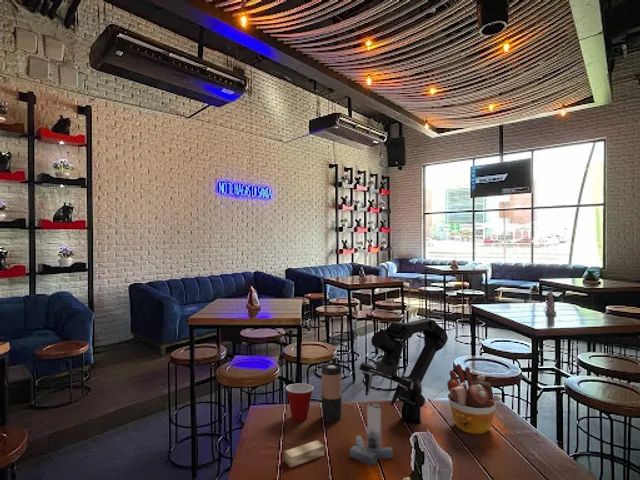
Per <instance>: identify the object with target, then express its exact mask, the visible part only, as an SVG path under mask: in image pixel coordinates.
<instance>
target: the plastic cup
mask: <svg viewBox="0 0 640 480" xmlns="http://www.w3.org/2000/svg"><path fill="white" fill-rule="evenodd" d="M285 391H286V393H287V396H288V403H289V410H290V416H291V419H292V420H293V421H294V422H300V423H301V422H305V421H306V420H308V417H309V416H308V415H309V409H310V404H311V399H312V394H313V391H314V386H313V385H312V384H309V383H291V384H288V385H286V386H285Z"/></svg>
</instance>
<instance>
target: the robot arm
mask: <svg viewBox="0 0 640 480" xmlns="http://www.w3.org/2000/svg"><path fill="white" fill-rule="evenodd" d="M417 333H422V335H423V342H424V345H423V348H422V349H421V352H420V353H419V356H418V357H417V359H416V361H415V362H414V365H413V367H412V369H411V371H410V373H409V375H407V376H405V375H401V376H400V377H399V376H397V373H398V370H399V364H400V360H401V356H402V353H403V349H405V350H406V349H407V345H406V343H405V342H406V340H409V339H411V338H412V337H413V335H414V334H417ZM448 340H449V336H448V334H447V332H446V331H445V329H444V328H443V327H442V326H440V325H439V324H438V323H437V322H436V320H434V319H430V318H425V317H424V318H422V319H417V320H413V321H410V322H403V321H402V322H401V321H392V322H390V325H388V326H387V327H386V328H385V329H383V328H379V330H378V331H376V332H375V333H374V334H373V336H372V337H371V345H372V347H374V348H375V349H377V350H379V351H381V352H383V353H384V354H383V355H382V357H381V359H380V360H378V361H377V363H376V367H375V366H373V365H371V364H369V363H366V362H360V365H359V367H358V369H359V370H360V371H362V372H361V374H363V376H364V380H365V396H366V397H368V395H369V392H370V389H371V385H372V382H373V379H374V376H373V375H376V376H379V377H381V378H384V379H387V380H389V381H392V382H395V383H397V385H396V389H395V392H394V395H393V397H392V400H391V403H390V406H394V404H395V403H396V402H397V400H398V402H401V403H402V404H401V405H400V409H401V410H400V414H401V416H400V417H401V419H402V422H403V423H410V424H411V423H412V424H422V421H421V408H424V405H425V404H426V398H425V396H424V395H423V394H422V392H423V389H422V382H423V380H424V377H425V375H426V374H427V371H428V369H429V367H430V365H431V363H432V361H433V359H434V358H435V355H436V353H437V352H438V351H440V350H442V349H443V348H444V346H446V344H447V342H448ZM372 374H373V375H372Z"/></svg>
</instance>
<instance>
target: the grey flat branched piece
mask: <svg viewBox="0 0 640 480" xmlns="http://www.w3.org/2000/svg"><path fill="white" fill-rule="evenodd" d="M393 452H394V451H393V447H391V446H388V447H381V448H370V449H367V446H366V445H365V442H364V439H363V437H362V435H356V436H355V444H354V445H353V446H352V447H350V448H349V457H350V458H352V459H354V460H356V461H359V462H361V463H364V464H365V465H368V466H370V467H373V466H374V465H376V464H377V462H378V460H384V459H393V458H394V457H393V456H394V455H393Z"/></svg>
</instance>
